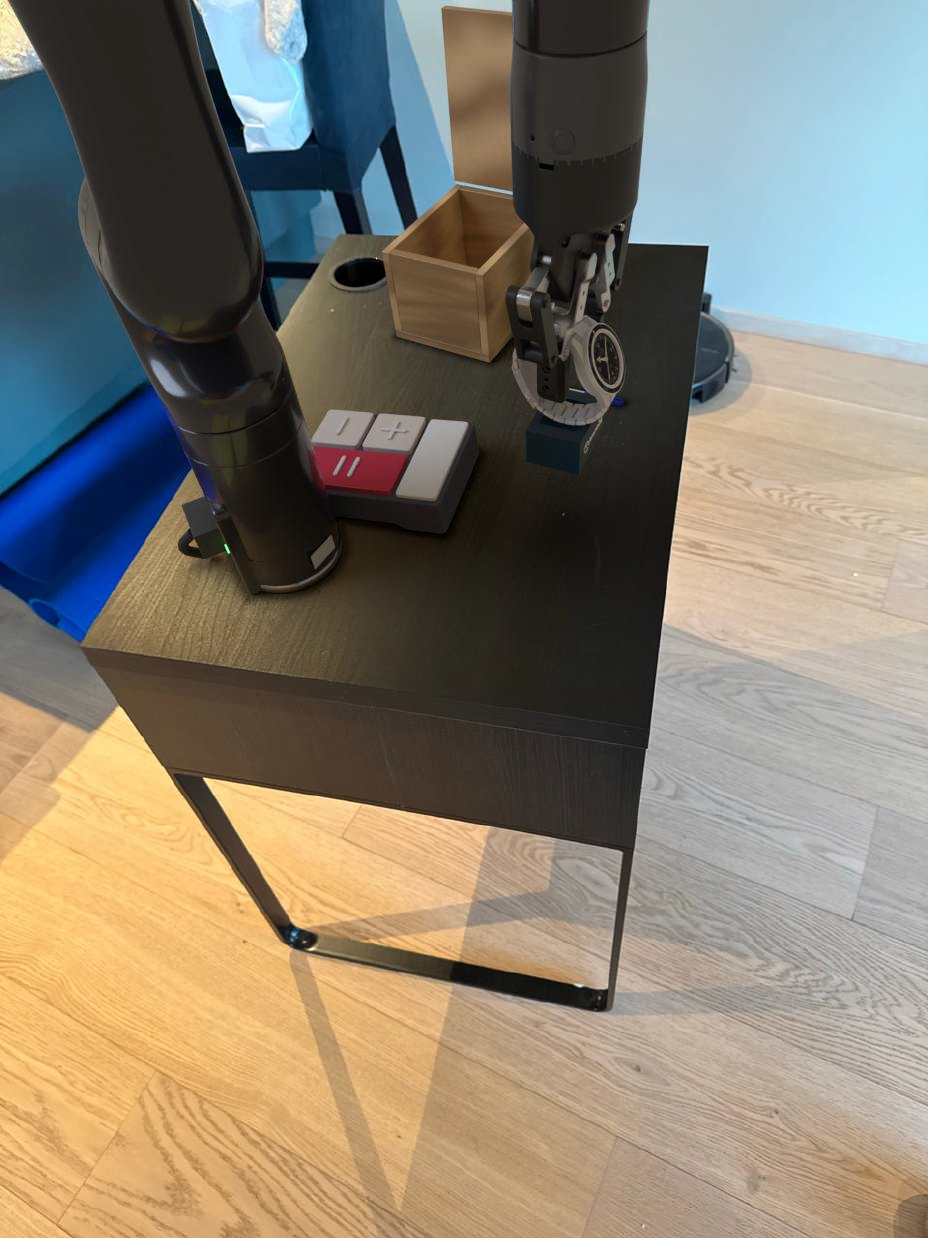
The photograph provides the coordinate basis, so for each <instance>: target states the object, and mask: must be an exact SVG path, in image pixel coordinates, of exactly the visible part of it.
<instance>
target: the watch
mask: <svg viewBox="0 0 928 1238" xmlns="http://www.w3.org/2000/svg"><path fill="white" fill-rule="evenodd" d="M554 328H555V334H556V336H559V333H560V327H559V325H557V324H554ZM570 353H571V355H572V358H573V364H574V368H575V369H574V370H575V373H576V376H577V379H578V381H579V383H580V384H581V386H582V388H583V389H584V390H585V392H586V391H587V392H588V393H590V394H587V393H582V392H578V391H573V390H569V396H568V397H567V399H566V400H565V401H564V402H563V403H556V402H553V401H550V400H546V399H543V398H541V397H540V396H539V395H538V393H537V364H536V363H533V362H529V361H524V360H520V359H518V358H517V354H516V349H515V348H513V352H512V365H511V370H512V373H513V374H512V375H513V376H514V379H515V381H516V383H517V386H518V387H519V389H520V391H521V393H522V395H523V396H524V398H525V399H526V401H527V402H528V403H529V405H530V406H531V408H532V409H534V410H535V409H537V410H536V412H535V414H534V416H533V417H532V419H531V421H530V422H529V424H528V426H527V427H526V429H525V460H526V463H530V464H534V465H538V466H542V467H546V468H550V469H553V470H557V471H562V472H566V473H569V474H573V475H576V476H579V475H580V474H581V472H582V471H583V469H584V466H585V465H586V463H587V461H588V459H589V457H590V455H591V453H592V452H593V450H594V448H595V446H596V444H597V442H598V440H599V438H600V436H601V434H602V433H603V431H604V428H605V427H604V425H605V413H606V412H607V411H608V410H609V408H610V407H611V402H612V400H613V399H614V397H616V396H617V394H618V393H619V392H620V391H621V389H622V388H623V385H624V382H625V378H626V359H625V353H624V350H623V347H622V344H621V342H620V339H619V337H618V335H617V334H616V332H615V331H614V330H613V329H612V327H610V326H609V324H606V323H605V322H604V323H597V322H596V321H595V320H593V319H592V318H590V317H588V316H587V315H585V316H583V319H582V321H581V323H579V324H577V325H575V326H574V330H573V336H572V342H571V348H570Z"/></svg>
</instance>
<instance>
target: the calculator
mask: <svg viewBox="0 0 928 1238" xmlns="http://www.w3.org/2000/svg"><path fill="white" fill-rule="evenodd" d="M311 437H312V438H310V439H311V442H312V446H313V449H314V452H315V456H316V459H317V462H318V465H319V469H320V472H321V475H322V479H323V482H324V485H325V488H326V492H327V495H328V498H329V502H330V505H331V508H332V512H333V515H334V517H338V518H339V517H340V518H347V519H353V520H355V519H356V520H362V521H363V520H364V521H372V522H379V523H380V522H381V523H388V524H395V525H397V526H399V527H401V528H402V529H405V530H409V531H416V532H425V533H432V534H440V535H441V534H442V535H443V534H445V533H446V532H447V531H448V530H449V527H450V525H451V522H452V520H453V518H454V516H455V513H456V511H457V508H458V506H459V503H460V501H461V498H462V496H463V494H464V492H465V489H466V487H467V484H468V483H469V479H470V476H471V474H472V472H473V469H474V468H475V465H476V463H477V460H478V457H479V455H480V448H479V443H478V436H477V431H476V425H475V423H474V422H472V421H460V420H449V419H437V418H436V419H435V418H426V417H425V416H418V415H404V414H392V413H391V414H390V413H379V414H374V413H373V412H367V411H357V410H345V409H329V410H328V411H327V412H326V414H325V416H324V417H323V419H322V420H321V422H320V424H319V426H318V427H317V428H316V431H315V433H314V434H313V436H311Z"/></svg>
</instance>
